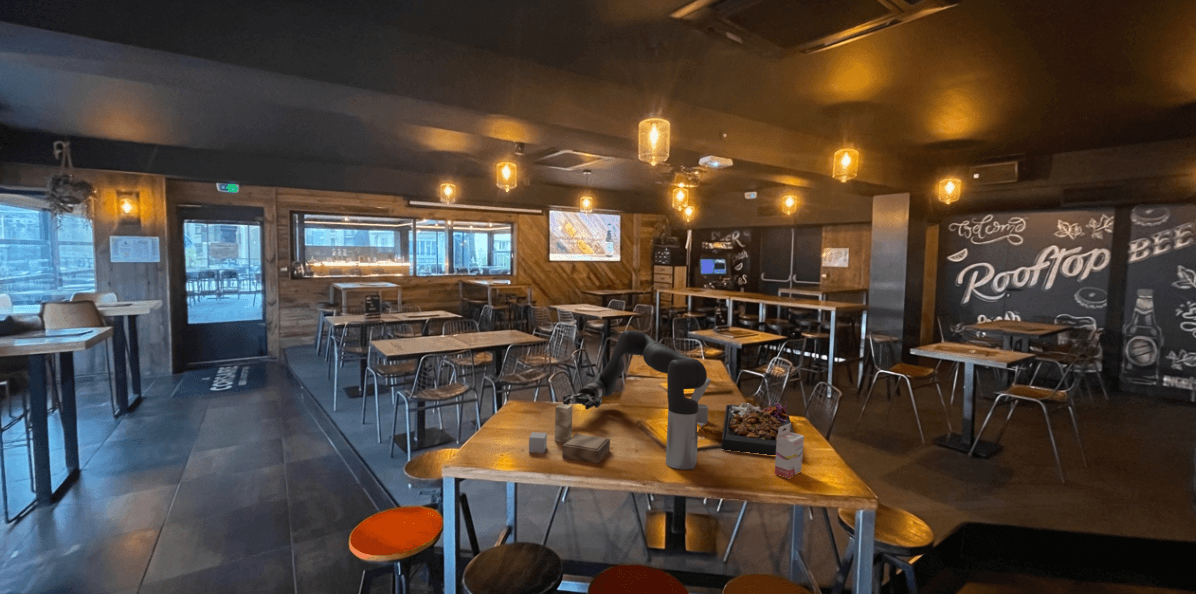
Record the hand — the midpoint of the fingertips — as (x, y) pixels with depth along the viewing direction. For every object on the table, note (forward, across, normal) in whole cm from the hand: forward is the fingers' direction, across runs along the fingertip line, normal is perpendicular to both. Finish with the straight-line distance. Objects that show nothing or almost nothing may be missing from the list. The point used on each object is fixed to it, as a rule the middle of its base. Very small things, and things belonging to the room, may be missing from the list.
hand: (575, 405), depth 190 cm
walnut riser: (+20, +12, +9) cm, 25 cm away
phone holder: (-26, +39, +10) cm, 48 cm away
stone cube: (+24, -4, +9) cm, 25 cm away
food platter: (-25, +64, +10) cm, 69 cm away
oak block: (+12, 0, +9) cm, 15 cm away
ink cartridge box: (+10, +74, +8) cm, 75 cm away
